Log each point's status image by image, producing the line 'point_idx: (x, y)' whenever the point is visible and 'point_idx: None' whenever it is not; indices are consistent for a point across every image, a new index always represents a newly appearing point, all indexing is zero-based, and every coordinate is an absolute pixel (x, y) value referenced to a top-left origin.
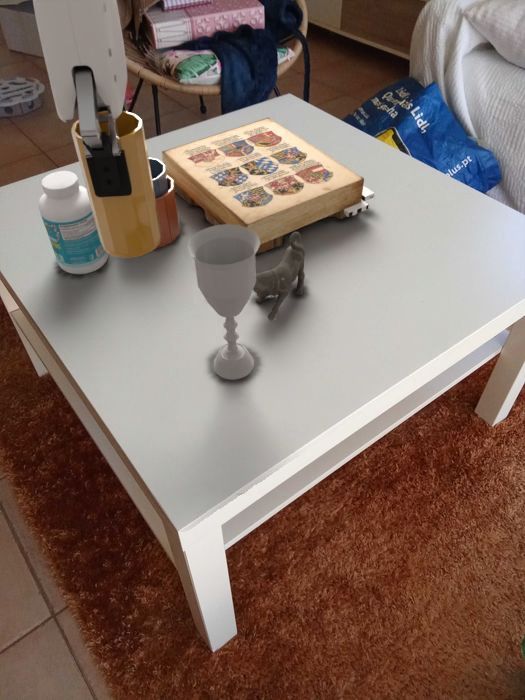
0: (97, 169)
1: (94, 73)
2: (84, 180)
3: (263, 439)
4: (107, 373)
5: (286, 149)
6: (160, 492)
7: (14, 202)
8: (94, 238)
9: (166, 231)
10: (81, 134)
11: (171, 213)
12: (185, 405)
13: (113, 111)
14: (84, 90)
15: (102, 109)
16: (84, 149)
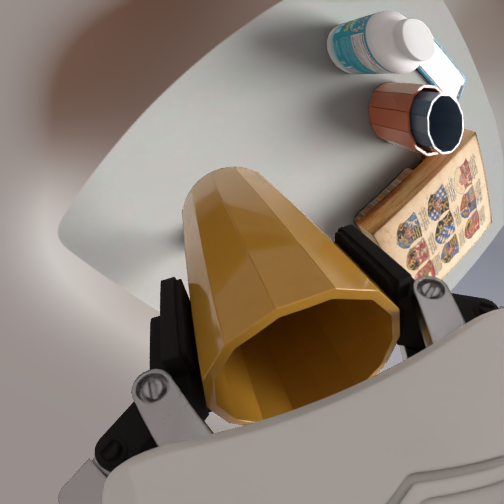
0: (151, 357)
1: None
2: (229, 223)
3: (133, 273)
4: (177, 116)
5: (458, 245)
6: (67, 214)
7: None
8: (361, 67)
9: (385, 136)
10: (60, 497)
11: (403, 146)
12: (150, 205)
13: None
14: None
15: (411, 315)
16: (134, 400)
